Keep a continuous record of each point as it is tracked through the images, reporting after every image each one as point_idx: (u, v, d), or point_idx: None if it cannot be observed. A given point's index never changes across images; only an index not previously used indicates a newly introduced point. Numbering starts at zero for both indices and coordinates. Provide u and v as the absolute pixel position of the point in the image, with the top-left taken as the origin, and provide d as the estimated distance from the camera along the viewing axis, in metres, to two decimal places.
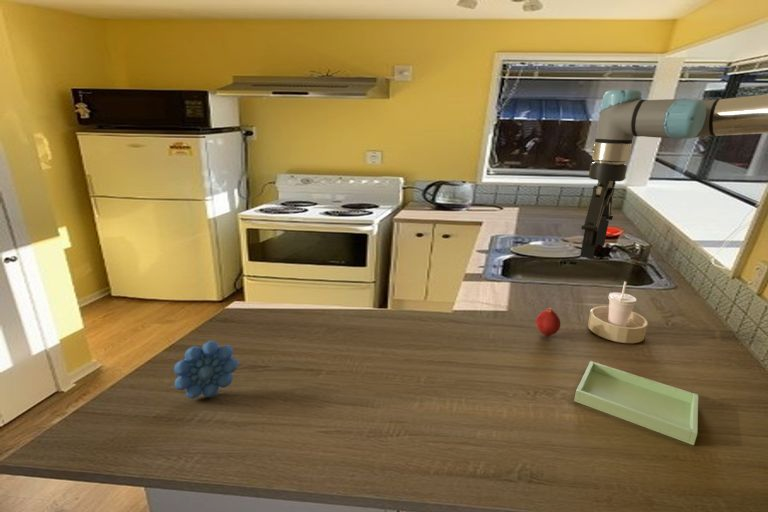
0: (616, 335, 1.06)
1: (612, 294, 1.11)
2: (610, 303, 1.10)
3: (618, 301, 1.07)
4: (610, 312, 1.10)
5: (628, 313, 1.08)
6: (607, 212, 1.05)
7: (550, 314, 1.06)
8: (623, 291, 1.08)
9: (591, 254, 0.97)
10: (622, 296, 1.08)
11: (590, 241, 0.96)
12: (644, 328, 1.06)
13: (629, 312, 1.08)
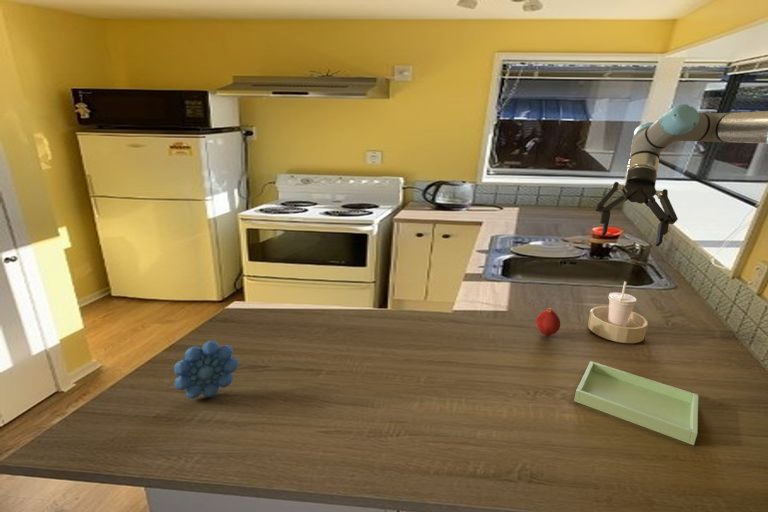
0: (616, 335, 1.06)
1: (612, 294, 1.11)
2: (610, 303, 1.10)
3: (618, 301, 1.07)
4: (610, 312, 1.10)
5: (628, 313, 1.08)
6: (659, 213, 1.17)
7: (550, 314, 1.06)
8: (623, 291, 1.08)
9: (604, 229, 1.19)
10: (622, 296, 1.08)
11: (601, 219, 1.20)
12: (644, 328, 1.06)
13: (629, 312, 1.08)
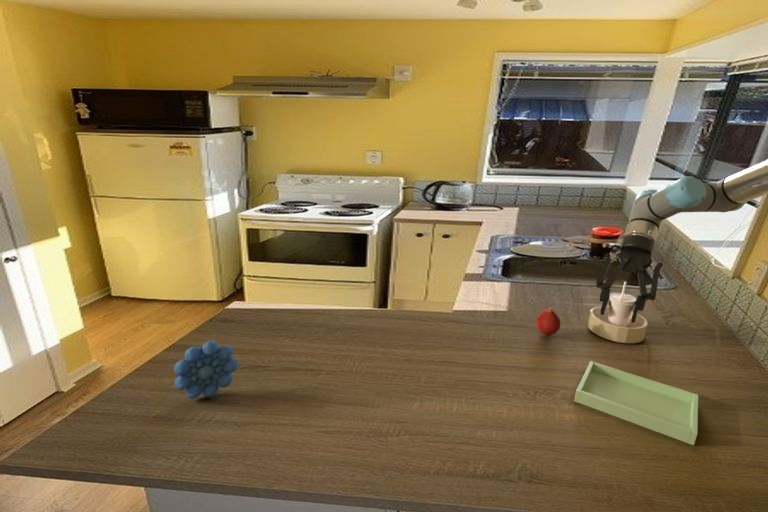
0: (616, 335, 1.06)
1: (612, 294, 1.11)
2: (610, 303, 1.10)
3: (618, 301, 1.07)
4: (610, 312, 1.10)
5: (628, 313, 1.08)
6: (640, 286, 1.08)
7: (550, 314, 1.06)
8: (623, 291, 1.08)
9: (601, 307, 1.09)
10: (622, 296, 1.08)
11: (600, 296, 1.11)
12: (644, 328, 1.06)
13: (629, 312, 1.08)
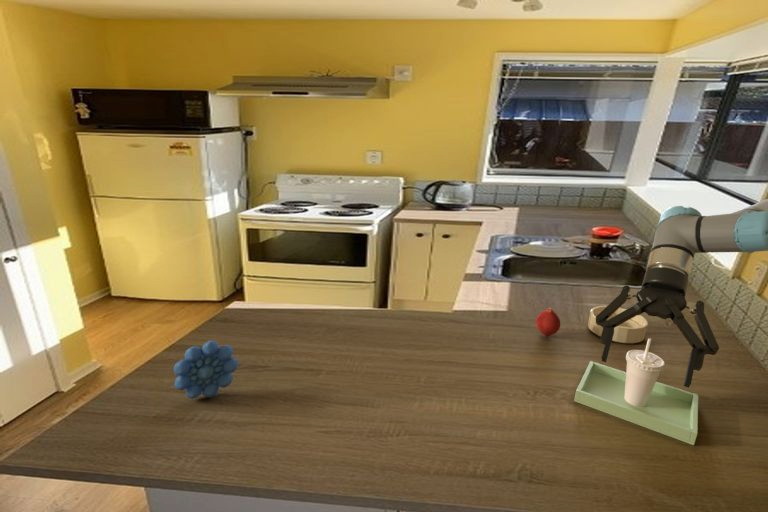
0: (616, 335, 1.06)
1: (631, 353, 0.82)
2: (628, 366, 0.81)
3: (640, 365, 0.79)
4: (628, 378, 0.82)
5: (653, 381, 0.80)
6: (689, 337, 0.79)
7: (550, 314, 1.06)
8: (646, 351, 0.80)
9: None
10: (645, 357, 0.80)
11: None
12: (644, 328, 1.06)
13: (654, 379, 0.79)
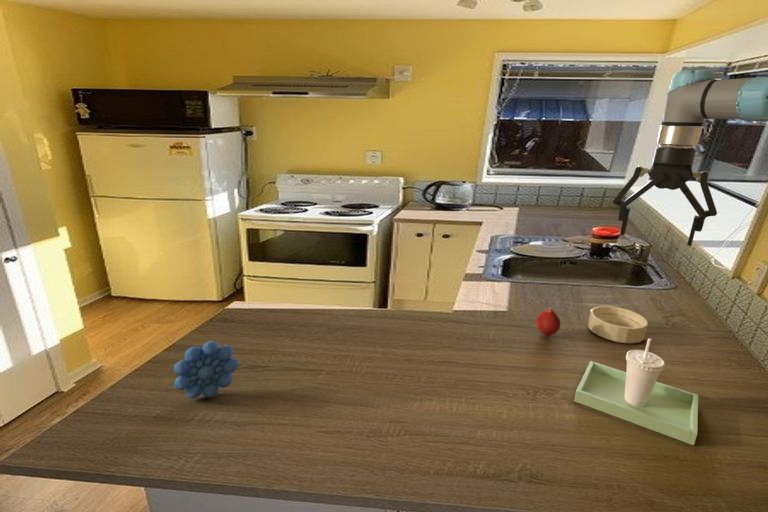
0: (616, 335, 1.06)
1: (631, 353, 0.82)
2: (628, 366, 0.81)
3: (640, 365, 0.79)
4: (628, 378, 0.82)
5: (653, 381, 0.80)
6: None
7: (550, 314, 1.06)
8: (646, 351, 0.80)
9: None
10: (645, 357, 0.80)
11: None
12: (644, 328, 1.06)
13: (654, 379, 0.79)
